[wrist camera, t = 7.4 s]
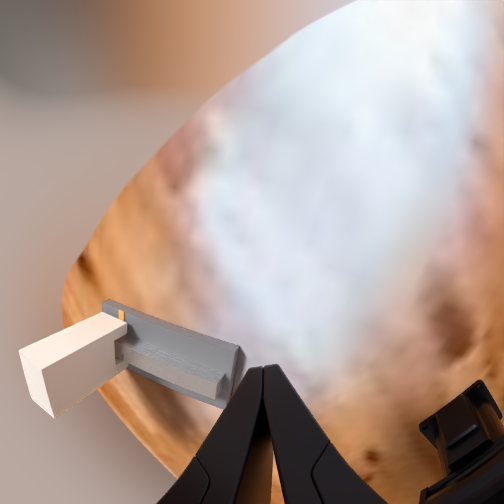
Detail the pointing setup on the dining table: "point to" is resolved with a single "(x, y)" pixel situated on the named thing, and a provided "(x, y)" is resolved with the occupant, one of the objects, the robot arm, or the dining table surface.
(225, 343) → the board
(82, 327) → the white cardboard box
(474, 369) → the dining table surface
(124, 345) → the light grey bar
